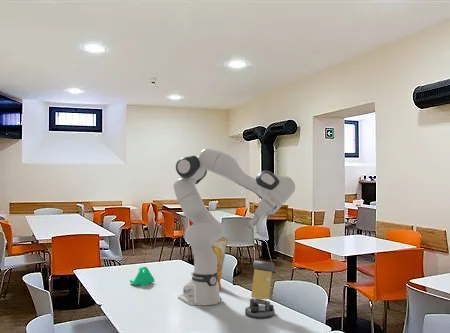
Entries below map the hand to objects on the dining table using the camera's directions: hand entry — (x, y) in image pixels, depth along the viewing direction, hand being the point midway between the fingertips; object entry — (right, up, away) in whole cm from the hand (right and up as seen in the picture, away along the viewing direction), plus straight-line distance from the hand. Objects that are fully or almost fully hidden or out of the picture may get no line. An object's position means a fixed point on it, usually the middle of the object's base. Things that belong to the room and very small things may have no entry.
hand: (248, 226), depth 193 cm
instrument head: (+5, -33, -4) cm, 33 cm away
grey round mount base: (+5, -38, -4) cm, 39 cm away
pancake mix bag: (-17, -40, +45) cm, 62 cm away
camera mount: (-58, -40, +51) cm, 87 cm away
